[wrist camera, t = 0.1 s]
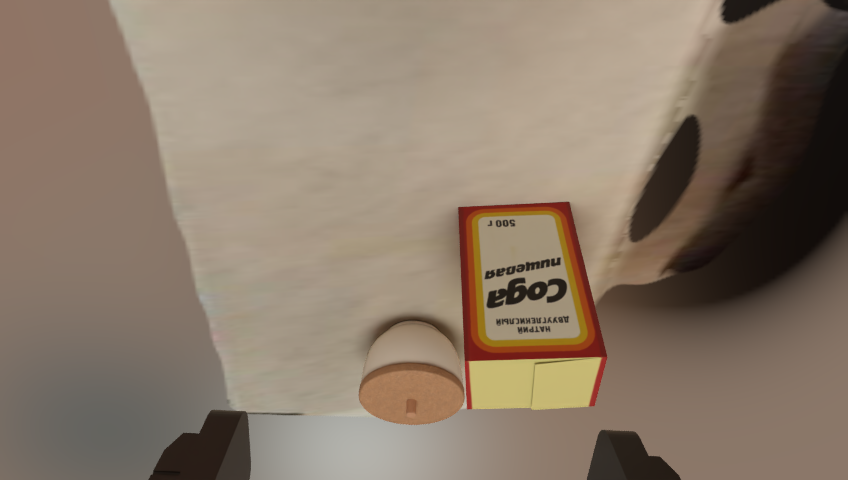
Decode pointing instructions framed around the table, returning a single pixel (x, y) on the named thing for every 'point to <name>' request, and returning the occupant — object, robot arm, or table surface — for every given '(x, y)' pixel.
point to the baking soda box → (527, 309)
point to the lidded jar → (412, 375)
